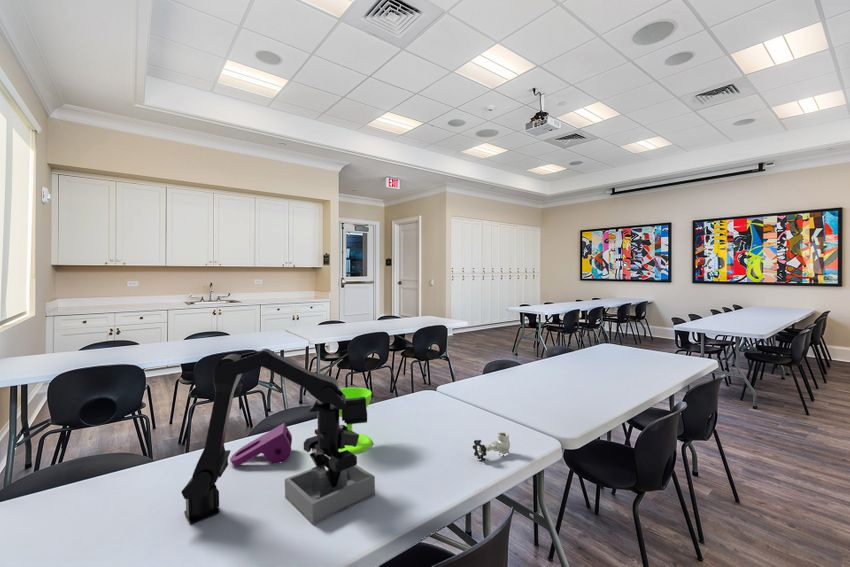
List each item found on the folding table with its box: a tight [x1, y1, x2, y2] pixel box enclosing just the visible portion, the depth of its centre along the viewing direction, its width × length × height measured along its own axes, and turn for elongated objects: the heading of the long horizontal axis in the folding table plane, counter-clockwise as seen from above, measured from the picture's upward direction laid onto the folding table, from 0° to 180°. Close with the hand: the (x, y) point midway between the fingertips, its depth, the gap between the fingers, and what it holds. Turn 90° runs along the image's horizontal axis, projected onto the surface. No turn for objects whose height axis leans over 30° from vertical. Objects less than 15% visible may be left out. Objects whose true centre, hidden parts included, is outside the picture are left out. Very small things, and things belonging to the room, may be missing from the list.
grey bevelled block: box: [311, 462, 347, 497], centre depth 103 cm, size 8×4×6 cm, turn 133°
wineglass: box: [339, 387, 373, 455], centre depth 134 cm, size 16×16×18 cm
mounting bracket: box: [229, 422, 293, 467], centre depth 125 cm, size 9×8×18 cm
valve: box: [472, 431, 511, 462], centre depth 124 cm, size 7×7×12 cm
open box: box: [284, 464, 376, 525], centre depth 103 cm, size 18×16×5 cm
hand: (329, 483), depth 103 cm, fingers closed on grey bevelled block, 4 cm apart
